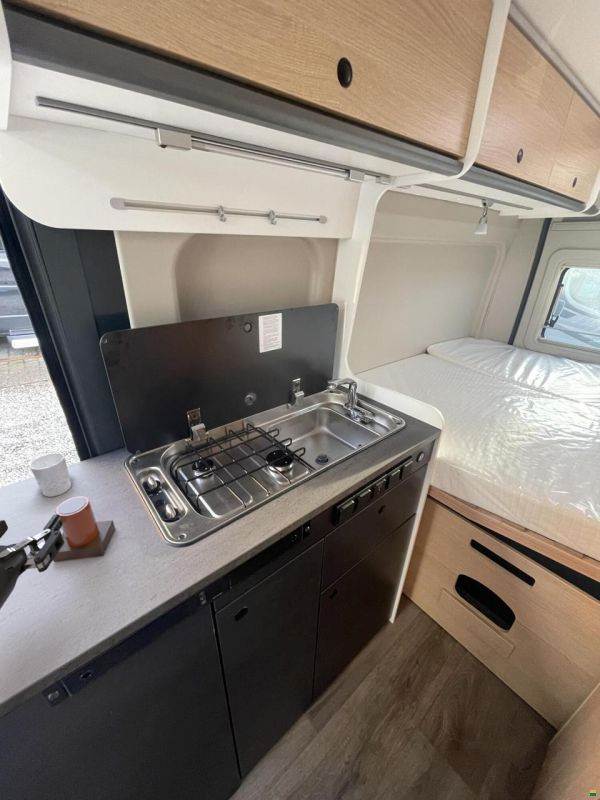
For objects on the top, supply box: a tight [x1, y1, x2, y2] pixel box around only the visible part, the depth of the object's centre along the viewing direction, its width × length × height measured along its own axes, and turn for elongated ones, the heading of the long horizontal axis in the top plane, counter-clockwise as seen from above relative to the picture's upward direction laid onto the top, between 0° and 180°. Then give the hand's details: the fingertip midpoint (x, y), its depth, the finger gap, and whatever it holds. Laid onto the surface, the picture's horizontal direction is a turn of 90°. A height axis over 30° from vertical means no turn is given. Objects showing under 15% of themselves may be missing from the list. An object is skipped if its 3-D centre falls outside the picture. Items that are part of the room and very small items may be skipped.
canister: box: [55, 495, 99, 547], centre depth 73 cm, size 6×6×9 cm
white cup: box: [28, 452, 72, 498], centre depth 93 cm, size 8×8×10 cm
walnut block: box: [53, 520, 116, 563], centre depth 76 cm, size 10×8×4 cm
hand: (31, 520), depth 58 cm, fingers open, 8 cm apart
